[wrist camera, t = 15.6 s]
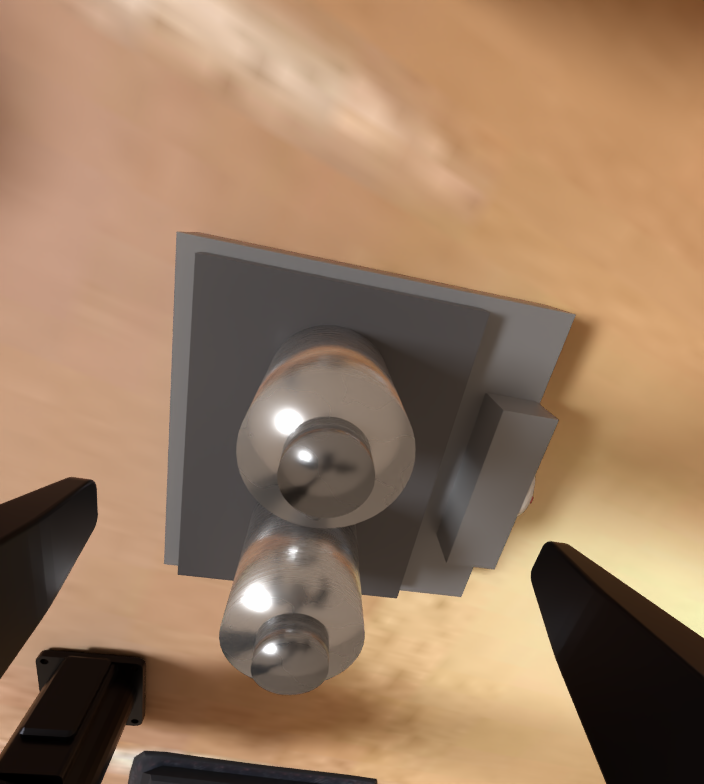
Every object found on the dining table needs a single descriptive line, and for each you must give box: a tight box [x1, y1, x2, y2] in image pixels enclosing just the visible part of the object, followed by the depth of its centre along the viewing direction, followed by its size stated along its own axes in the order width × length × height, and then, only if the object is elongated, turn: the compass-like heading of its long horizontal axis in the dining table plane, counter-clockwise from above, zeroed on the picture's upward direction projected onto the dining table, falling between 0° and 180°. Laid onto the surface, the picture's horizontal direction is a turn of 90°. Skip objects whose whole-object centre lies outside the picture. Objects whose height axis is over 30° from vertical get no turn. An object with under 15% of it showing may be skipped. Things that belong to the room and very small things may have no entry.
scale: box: [164, 232, 575, 598], centre depth 18 cm, size 16×16×4 cm
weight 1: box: [236, 325, 416, 528], centre depth 13 cm, size 5×5×7 cm
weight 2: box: [219, 502, 365, 695], centre depth 15 cm, size 5×5×7 cm
